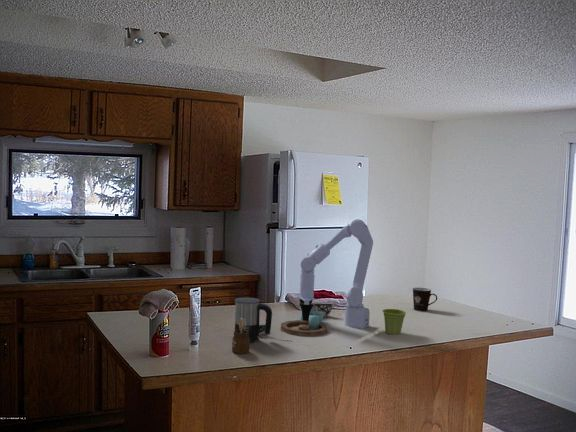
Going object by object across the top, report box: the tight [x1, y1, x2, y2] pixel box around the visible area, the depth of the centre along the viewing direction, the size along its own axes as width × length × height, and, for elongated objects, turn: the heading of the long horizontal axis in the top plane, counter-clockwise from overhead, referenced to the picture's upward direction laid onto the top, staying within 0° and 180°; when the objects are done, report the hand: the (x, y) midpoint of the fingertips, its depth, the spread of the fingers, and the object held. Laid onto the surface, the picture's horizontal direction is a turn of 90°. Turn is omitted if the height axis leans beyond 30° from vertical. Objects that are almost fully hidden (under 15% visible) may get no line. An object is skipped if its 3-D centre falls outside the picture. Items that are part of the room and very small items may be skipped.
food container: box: [310, 302, 334, 318], centre depth 267 cm, size 12×6×10 cm
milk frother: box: [234, 297, 273, 343], centre depth 227 cm, size 14×16×15 cm
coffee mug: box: [412, 286, 438, 312], centre depth 290 cm, size 12×9×10 cm
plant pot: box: [382, 308, 407, 335], centre depth 244 cm, size 9×9×9 cm
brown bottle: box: [231, 319, 251, 355], centre depth 208 cm, size 6×6×12 cm
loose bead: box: [313, 311, 324, 324], centre depth 253 cm, size 4×4×5 cm
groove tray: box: [280, 319, 328, 337], centre depth 238 cm, size 18×18×2 cm
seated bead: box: [309, 315, 319, 330], centre depth 240 cm, size 4×4×5 cm
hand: (305, 318), depth 253 cm, fingers open, 7 cm apart
